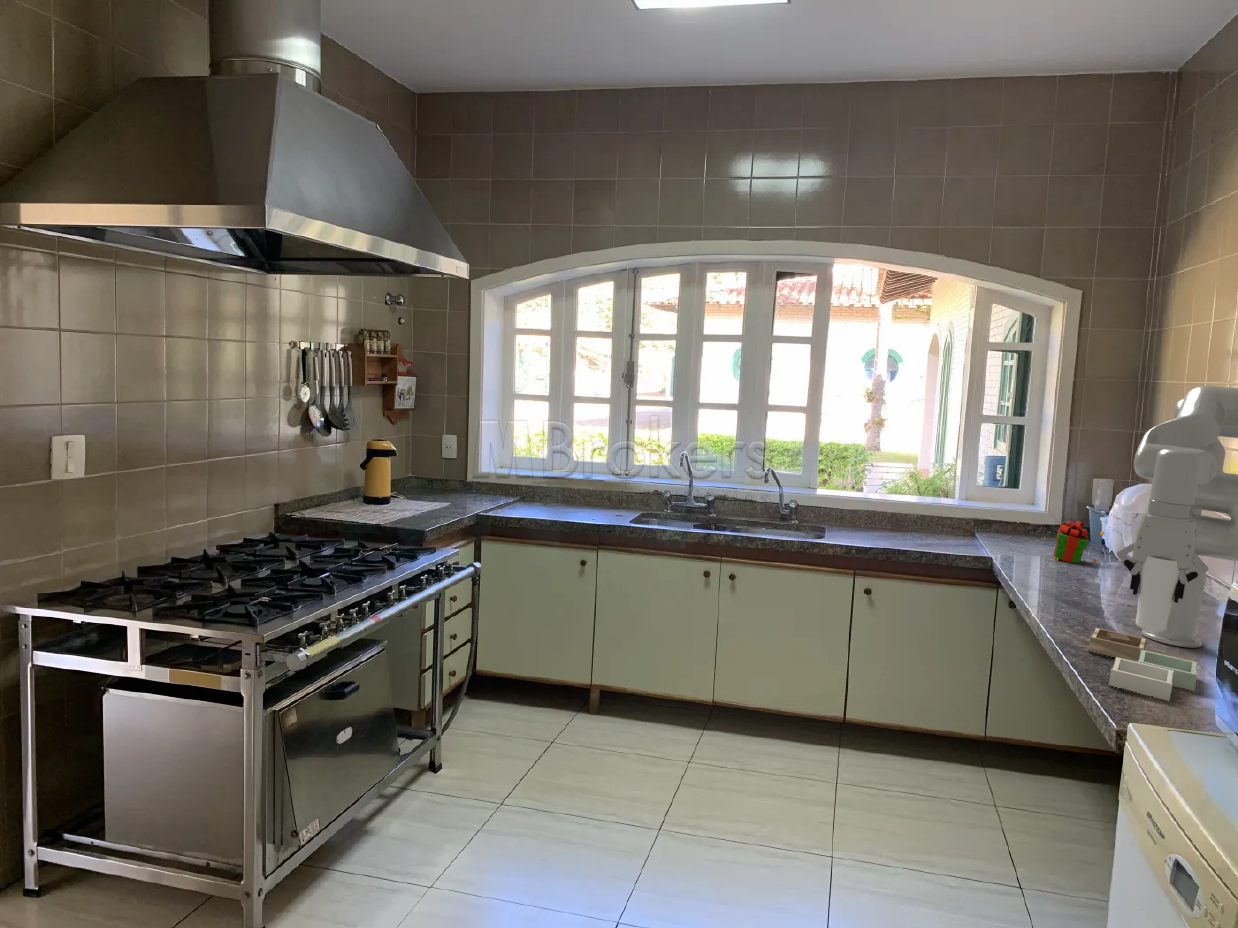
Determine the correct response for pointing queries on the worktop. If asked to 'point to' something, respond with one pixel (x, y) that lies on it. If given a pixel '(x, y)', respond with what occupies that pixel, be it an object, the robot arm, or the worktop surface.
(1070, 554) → the gift wrap
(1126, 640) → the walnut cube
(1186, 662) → the sage frame
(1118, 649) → the beech frame
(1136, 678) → the cream frame
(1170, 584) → the white cup
